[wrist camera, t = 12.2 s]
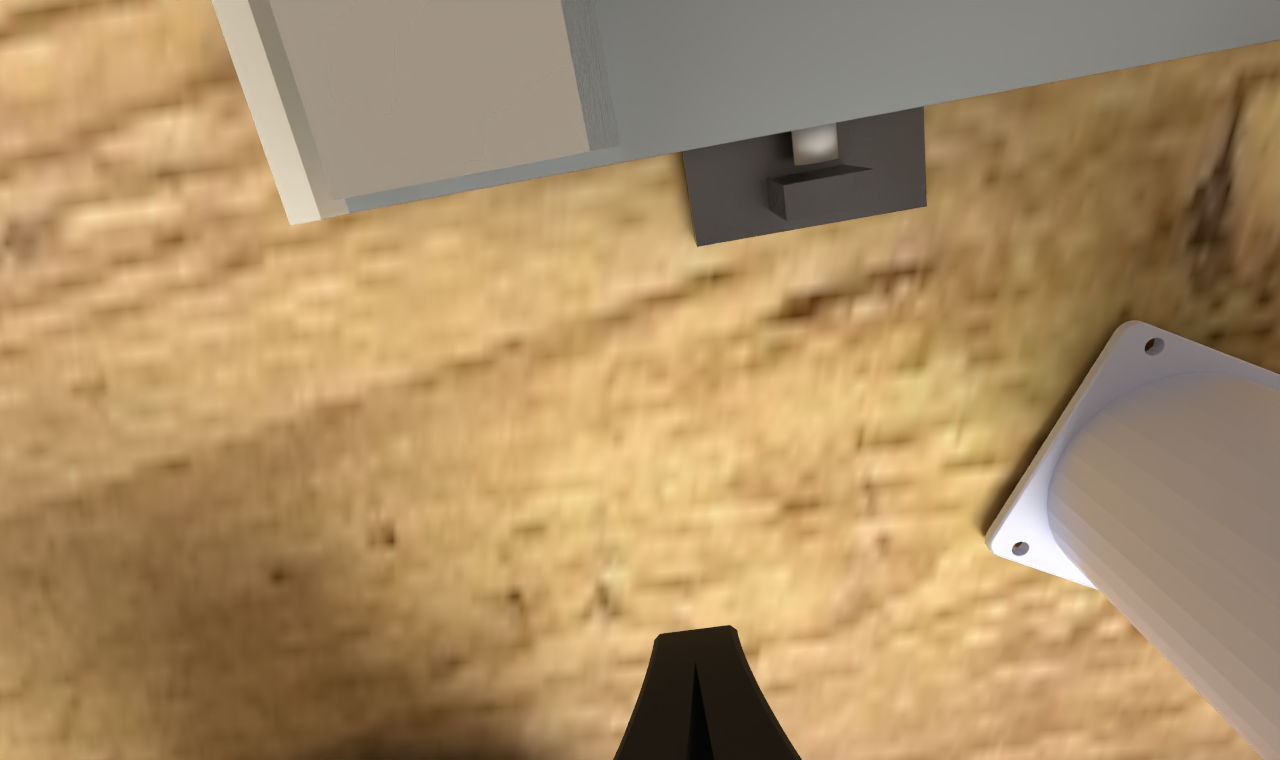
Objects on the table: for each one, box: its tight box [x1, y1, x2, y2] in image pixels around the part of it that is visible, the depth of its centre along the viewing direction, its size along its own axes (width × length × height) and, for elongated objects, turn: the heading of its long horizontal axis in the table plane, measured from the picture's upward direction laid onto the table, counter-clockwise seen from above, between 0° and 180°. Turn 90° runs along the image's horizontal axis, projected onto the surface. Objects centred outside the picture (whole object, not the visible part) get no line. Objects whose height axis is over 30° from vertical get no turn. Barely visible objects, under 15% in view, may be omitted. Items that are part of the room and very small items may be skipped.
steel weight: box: [269, 0, 620, 200], centre depth 13 cm, size 5×5×4 cm
